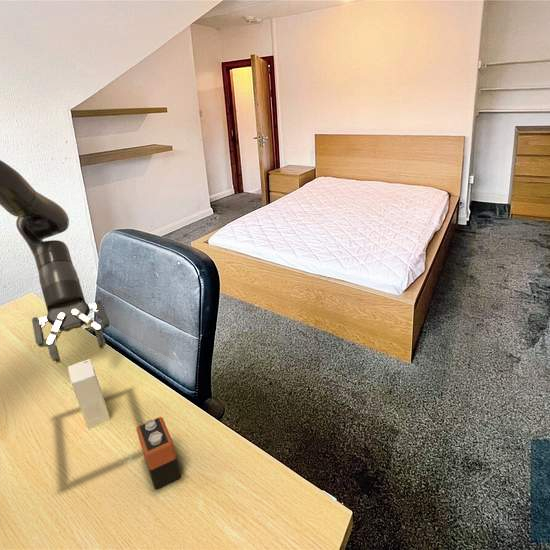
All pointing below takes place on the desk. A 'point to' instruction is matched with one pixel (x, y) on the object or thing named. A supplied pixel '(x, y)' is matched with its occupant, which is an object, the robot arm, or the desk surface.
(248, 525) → the desk surface
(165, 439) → the battery
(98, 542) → the desk surface
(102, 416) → the cosmetic box
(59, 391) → the desk surface
